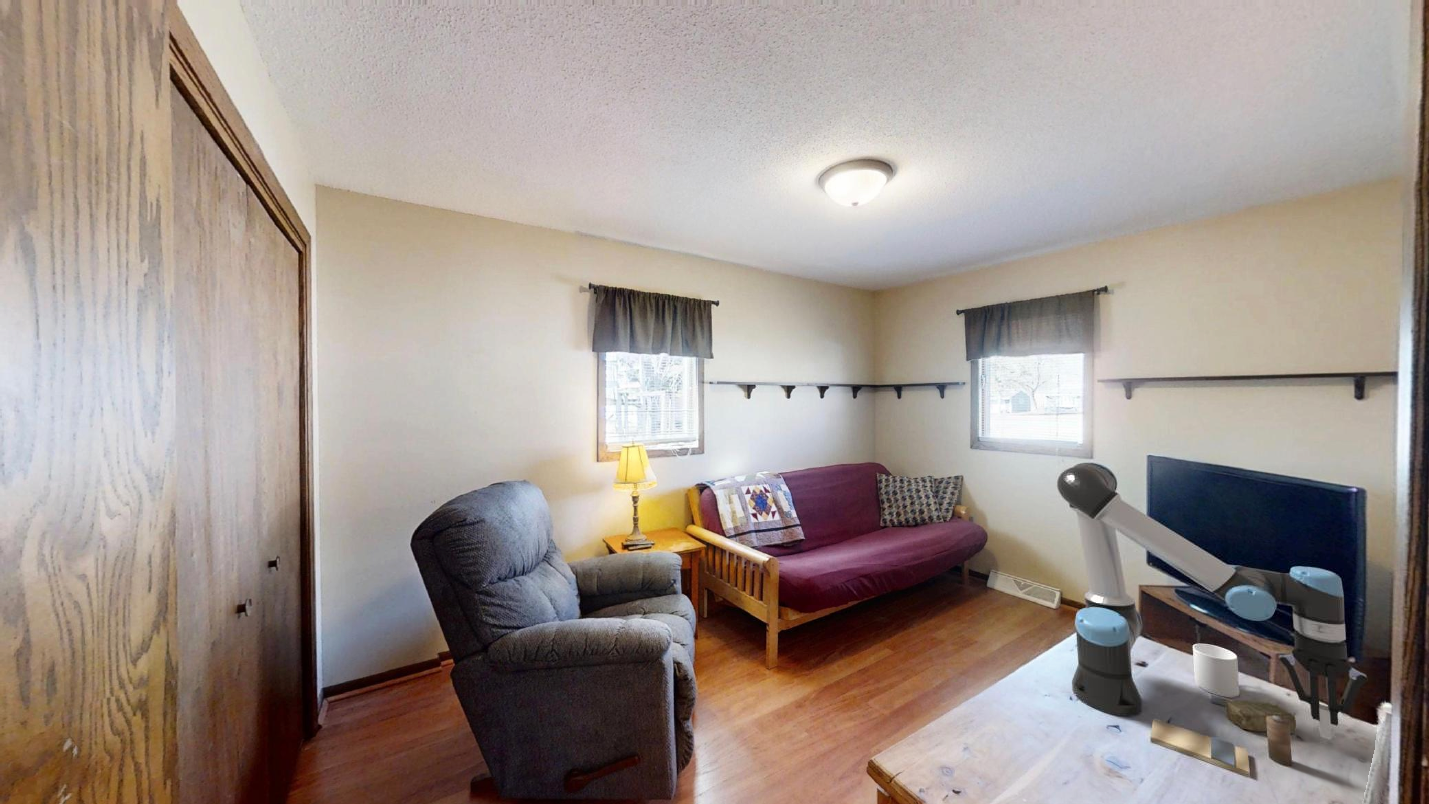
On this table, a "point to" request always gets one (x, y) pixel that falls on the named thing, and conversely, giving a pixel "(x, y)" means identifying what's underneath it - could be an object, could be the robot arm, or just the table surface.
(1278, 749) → the brown wooden cylinder
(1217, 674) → the mug
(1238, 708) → the stone block
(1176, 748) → the flat metallic slab
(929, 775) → the table surface
